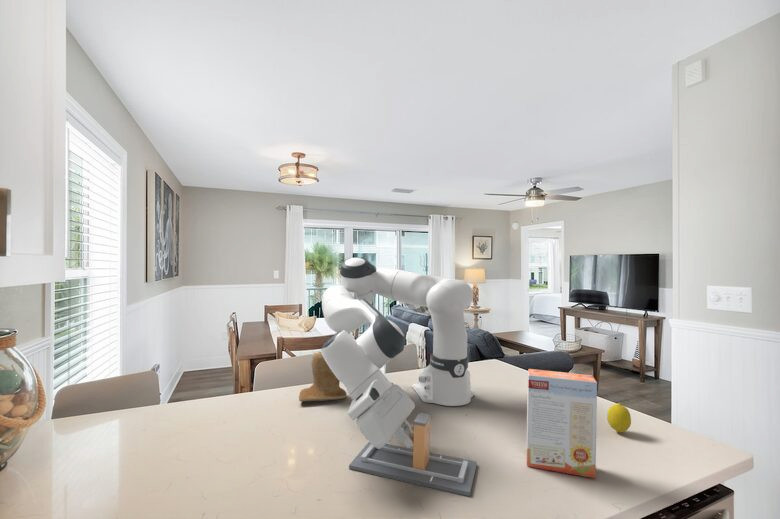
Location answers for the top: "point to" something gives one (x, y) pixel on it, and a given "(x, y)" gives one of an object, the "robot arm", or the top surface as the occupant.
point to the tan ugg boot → (322, 382)
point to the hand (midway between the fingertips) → (412, 443)
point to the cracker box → (562, 422)
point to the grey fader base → (399, 466)
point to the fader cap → (421, 441)
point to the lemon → (619, 417)
